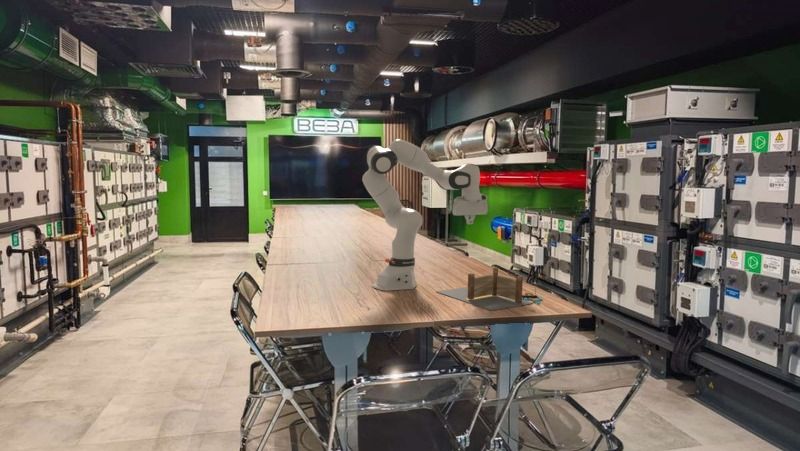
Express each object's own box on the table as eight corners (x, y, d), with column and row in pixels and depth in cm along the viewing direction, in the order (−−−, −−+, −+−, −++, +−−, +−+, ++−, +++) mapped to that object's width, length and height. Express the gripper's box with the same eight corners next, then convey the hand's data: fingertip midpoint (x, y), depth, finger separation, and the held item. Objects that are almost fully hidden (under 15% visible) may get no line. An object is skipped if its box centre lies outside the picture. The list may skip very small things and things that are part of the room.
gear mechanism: (525, 305, 228) (546, 305, 228) (525, 293, 228) (547, 293, 228) (514, 294, 248) (534, 294, 248) (515, 283, 248) (535, 283, 248)
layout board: (491, 311, 216) (491, 309, 216) (435, 292, 249) (435, 291, 249) (532, 303, 229) (533, 302, 229) (474, 286, 262) (474, 285, 261)
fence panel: (493, 295, 240) (494, 270, 239) (470, 299, 231) (471, 274, 230) (490, 294, 242) (491, 270, 241) (467, 298, 233) (468, 273, 231)
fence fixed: (518, 304, 228) (519, 274, 226) (490, 295, 242) (491, 268, 241) (522, 303, 229) (523, 274, 228) (494, 295, 244) (495, 267, 242)
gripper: (458, 197, 253) (457, 225, 254) (489, 196, 264) (489, 223, 265) (450, 196, 258) (449, 224, 260) (481, 195, 269) (480, 222, 271)
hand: (469, 224), depth 263 cm, fingers closed
